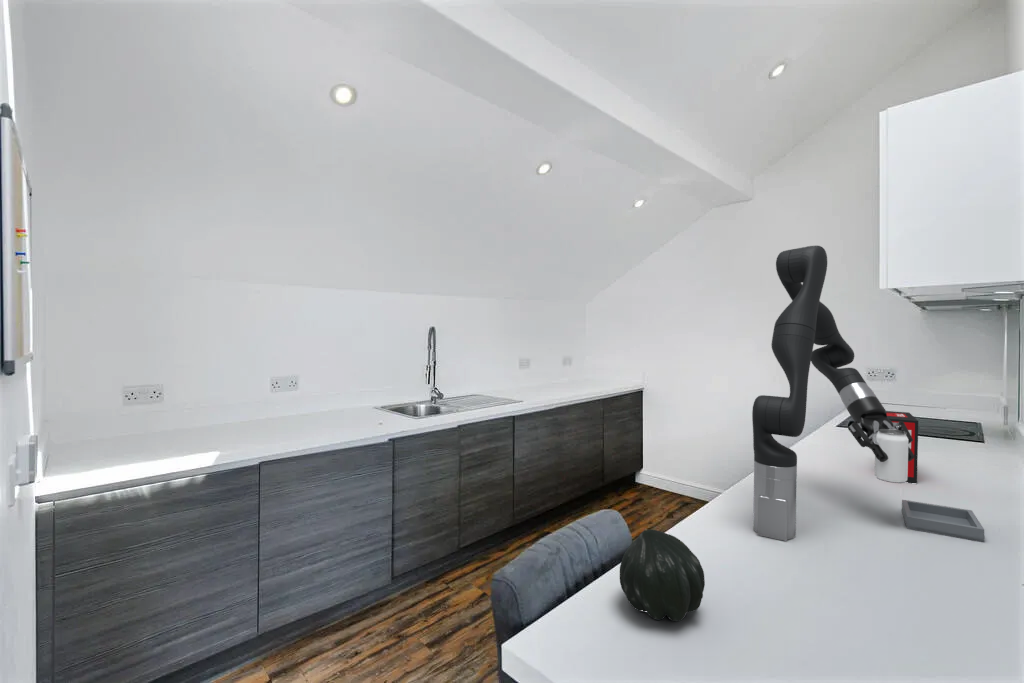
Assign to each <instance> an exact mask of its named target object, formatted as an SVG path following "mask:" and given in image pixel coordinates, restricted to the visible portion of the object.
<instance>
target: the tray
mask: <svg viewBox="0 0 1024 683" xmlns="http://www.w3.org/2000/svg"><path fill="white" fill-rule="evenodd" d="M901 513H902V517H903V520H904V523H905V526H906V529H907V530H913V531H919V532H924V533H929V534H930V533H931V534H936V535H941V536H946V537H951V538H958V539H963V540H968V541H974V542H981V543H985V528H984V527H983V525H982V524H981V522H980V521H979V519H978V517H977V516H976V514H975V513H974V511H973V510H971V509H966V508H960V507H953V506H946V505H940V504H939V505H938V504H932V503H927V502H921V501H913V500H906V499H901Z"/></svg>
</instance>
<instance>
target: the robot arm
mask: <svg viewBox="0 0 1024 683" xmlns="http://www.w3.org/2000/svg"><path fill="white" fill-rule="evenodd" d="M775 269H776V273H777V276H778V278H779V280H780V283H781V284H782V286H783V288H784V289H785V291H786V292H787V295H788V296H789V298H790V300H791V301H790V303H789V304H788V305H787V306H786V307H785V308H784V310H783V311H782V312H781V313H780V314H779V316H777V319H776V321H775V323H774V327H773V333H772V338H771V344H770V345H771V350H772V353H773V355H774V358H776V360H777V362H778V364H779V365H780V367H781V369H782V370H783V372H784V374H785V377H786V378H787V381H788V382H787V383H789V395H788V396H778V395H776V396H775V395H767V394H766V395H765V394H763V395H758V396H757V397H756V398H755V399H754V402H753V403H752V404H753V405H752V411H751V414H752V415H751V416H752V434H753V435H752V438H753V439H752V440H753V443H752V446H753V515H752V517H753V518H752V519H753V520H752V521H753V522H752V524H753V526H752V527H753V530H754V531H755V532H756V533H757V536H761V537H765V538H771V539H775V540H779V541H785V542H787V541H788V540H791V539H794V538H795V537H796V536H797V483H798V481H797V476H798V475H797V474H798V456H797V453H796V452H795V451H794V450H793V449H791V448H789V447H787V446H786V445H783V444H782V443H780V442H779V441H778V440H776V439H775V438H774V437H773V436H783V437H792V438H798V437H800V436H801V435H802V433H803V431H804V427H805V424H806V423H805V422H806V414H807V401H808V400H807V399H808V384H809V383H808V382H809V373H810V366H811V364H812V366H813V367H814V368H815V369H816V370H817V371H818V372H819V373H821V374H822V375H823V376H824V377H826V378H827V380H829V382H830V383H832V385H833V387H834V388H835V390H836V392H837V393H838V395H839V397H840V399H841V401H842V403H843V405H844V407H845V408H846V411H847V412H848V413H849V415H850V417H851V418H852V420H853V422H852V423H851V424H850V425H849V426H848V427H847V428H848V431H849V432H850V433H851V435H852V436H853V438H854V439H855V440H856V442H857V443H858V445H860V446H861V447H862V448H866V447H867V448H869V449H870V450H871V451H872V453H873V454H874V457H875V456H876V458H877V459H878V460H879V461H880V462H885V461H886V460H887V459H888V456H887V455H886V453H885V452H884V451H883V450H882V449H881V447H880V446H879V445H878V442H877V439H876V436H877V434H878V430H879V429H893V430H899V431H903V432H906V436H907V438H908V444H909V443H910V442H912V441H913V439H912V437H911V435H910V433H909V431H908V429H907V427H906V425H905V423H904V422H903V421H899V422H898V423H894V422H892V421H891V420H889V419H888V418H887V414H886V411H887V410H886V408H885V406H884V405H883V404H882V403H881V401H880V400H879V398H878V397H877V395H876V394H875V393H874V390H872V388H871V387H870V386H869V385H868V383H867V382H866V380H865V379H864V378H863V376H862V374H861V373H860V372H859V371H858V370H857V369H856V368H854V367H844V366H847V365H850V364H851V363H853V362H854V359H855V352H854V350H853V348H852V346H850V345H849V343H847V341H846V340H845V339H844V338H843V337H842V335H841V333H840V331H839V329H838V326H837V322H836V320H835V317H834V315H833V313H832V312H831V310H830V309H829V307H828V306H826V305H825V304H824V303H823V302H821V301H820V299H821V295H822V292H823V287H824V284H825V279H826V276H827V270H828V255H827V251H826V250H825V248H824V247H823V246H821V245H809V246H803V247H798V248H792V249H787V250H783V251H781V252H779V254H778V255H777V257H776V260H775ZM814 344H815V345H816V346H821V347H819V348H816V349H814V346H815V345H814ZM912 459H914V454H913V452H912V451H911V449H910V448H909V446H908V461H911V460H912Z"/></svg>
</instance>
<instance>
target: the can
mask: <svg viewBox="0 0 1024 683" xmlns="http://www.w3.org/2000/svg"><path fill="white" fill-rule="evenodd" d="M876 439H877V442H878V445H879V446H880V447H881V449H882V450H883V451H884V452H885V453H886V455H887V456H888V459H887V460H886V461H885V462H880V461H879V460H878V459H877V458H876V456H875V455H874V476H875V478H876V479H877V480H879V481H884V482H886V483H892V484H905V482H906V481H907V476H908V438H907V436H906V432H903V431H899V430H893V429H879V430H878V434H877V436H876Z"/></svg>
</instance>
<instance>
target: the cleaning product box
mask: <svg viewBox="0 0 1024 683" xmlns="http://www.w3.org/2000/svg"><path fill="white" fill-rule="evenodd" d="M886 414H887V418H888V419H889V420H891V421H892V422H894V423H898V422H899V421H903V422H904V423H905V425H906V427H907V429H908V431H909V433H910V435H911V437H912V439H913V441H912V442H910V443H909V444H908V446H909V448H910V449H911V451H912V452H913V454H914V459H912V460H911V461H908V476H907V481H906V482H908V483H907V484H912V483H917V484H918V453H919V452H918V451H919V449H918V447H919V420H918V419H917V418H916V417H915V416H913V414H912V413H910V412H907V411H906V412H905V411H894V410H891V411H890V410H886Z"/></svg>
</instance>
